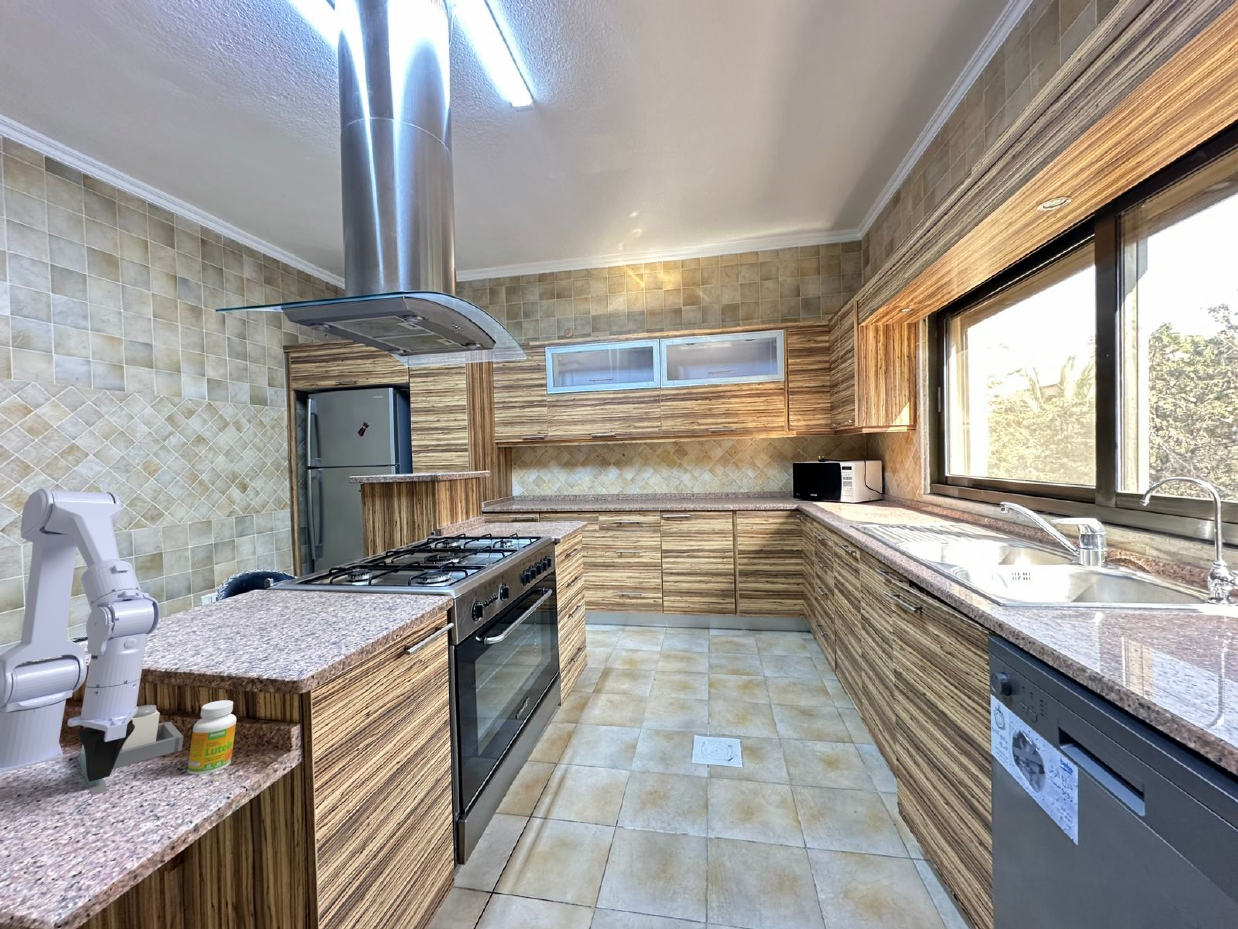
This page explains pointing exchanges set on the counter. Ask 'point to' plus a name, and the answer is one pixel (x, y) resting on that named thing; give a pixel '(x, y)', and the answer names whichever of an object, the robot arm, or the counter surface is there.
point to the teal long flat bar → (85, 764)
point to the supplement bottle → (212, 738)
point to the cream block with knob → (143, 727)
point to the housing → (143, 752)
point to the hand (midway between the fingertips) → (98, 778)
